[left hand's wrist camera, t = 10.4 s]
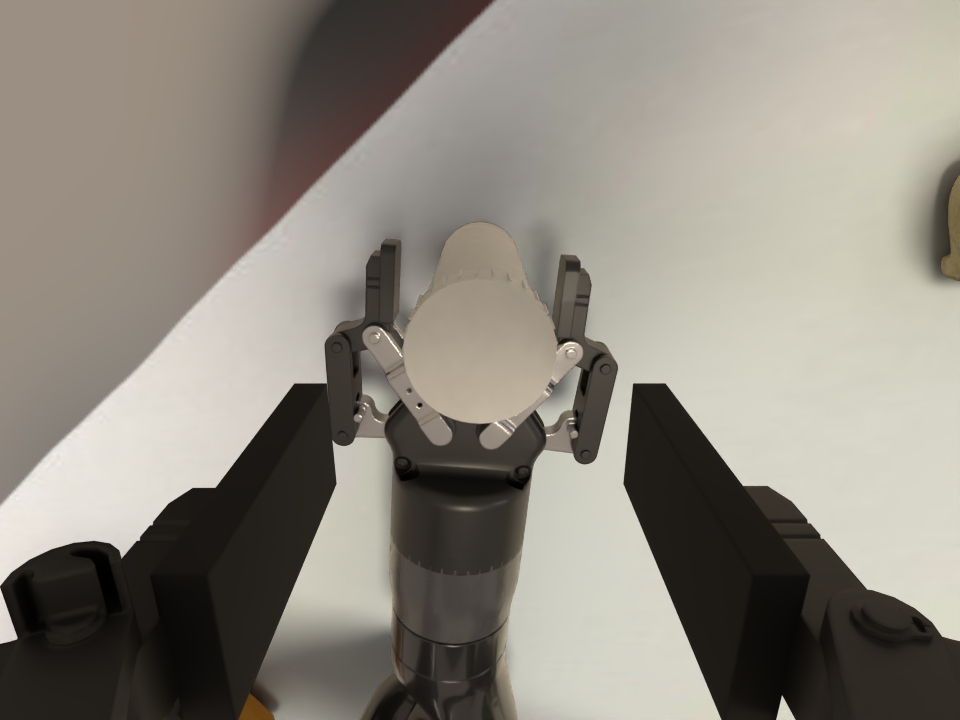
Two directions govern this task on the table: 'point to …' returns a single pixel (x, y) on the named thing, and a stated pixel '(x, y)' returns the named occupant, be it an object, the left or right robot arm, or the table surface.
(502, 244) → the jar
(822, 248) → the table surface
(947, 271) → the sculpture
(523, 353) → the lid
